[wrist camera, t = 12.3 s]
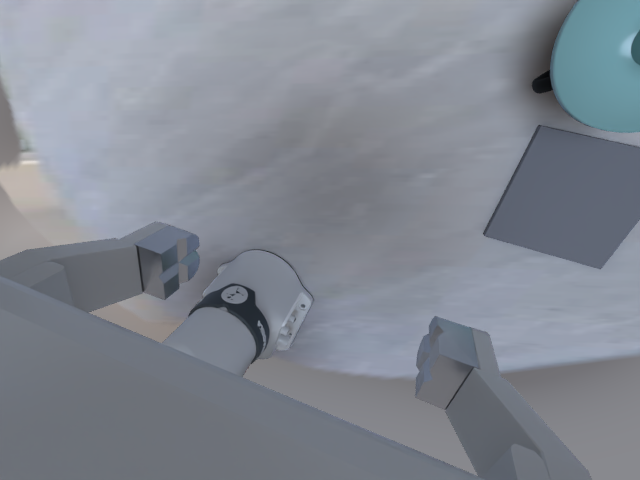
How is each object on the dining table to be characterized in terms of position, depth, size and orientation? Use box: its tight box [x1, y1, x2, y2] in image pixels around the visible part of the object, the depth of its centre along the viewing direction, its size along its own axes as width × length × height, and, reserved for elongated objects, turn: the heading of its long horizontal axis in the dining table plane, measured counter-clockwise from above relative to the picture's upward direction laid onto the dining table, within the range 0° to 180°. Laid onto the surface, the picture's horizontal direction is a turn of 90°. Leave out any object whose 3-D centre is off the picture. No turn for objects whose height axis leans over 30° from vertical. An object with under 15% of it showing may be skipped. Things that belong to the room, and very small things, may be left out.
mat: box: [483, 125, 640, 269], centre depth 36 cm, size 14×14×1 cm
